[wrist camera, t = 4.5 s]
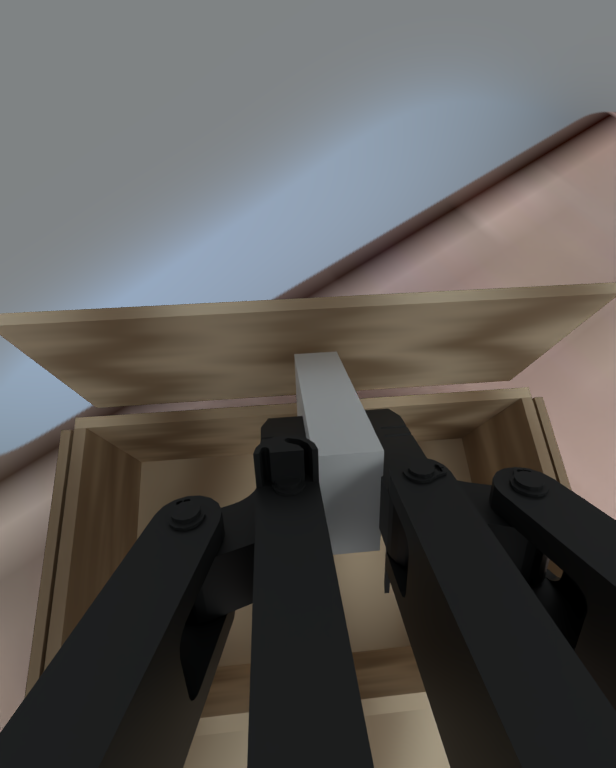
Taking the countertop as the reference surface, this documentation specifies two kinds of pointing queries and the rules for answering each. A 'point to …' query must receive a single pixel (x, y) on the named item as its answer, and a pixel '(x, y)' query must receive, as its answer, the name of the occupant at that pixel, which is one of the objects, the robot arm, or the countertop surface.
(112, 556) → the carton
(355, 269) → the countertop surface
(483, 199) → the countertop surface
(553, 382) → the countertop surface
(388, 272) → the countertop surface
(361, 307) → the flap
